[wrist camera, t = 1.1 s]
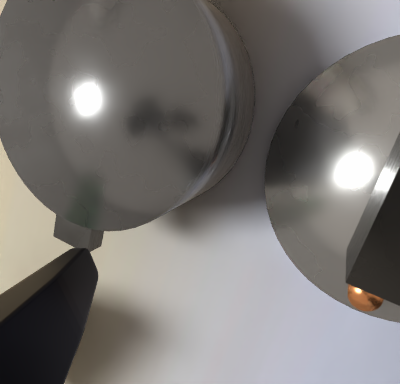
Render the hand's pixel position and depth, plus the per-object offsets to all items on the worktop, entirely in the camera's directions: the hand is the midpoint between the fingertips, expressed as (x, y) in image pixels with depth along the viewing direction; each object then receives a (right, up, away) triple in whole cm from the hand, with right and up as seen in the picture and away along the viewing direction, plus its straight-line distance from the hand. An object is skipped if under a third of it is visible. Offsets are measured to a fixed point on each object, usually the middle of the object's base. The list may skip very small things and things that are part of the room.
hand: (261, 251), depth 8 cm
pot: (-4, +7, +13) cm, 16 cm away
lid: (+9, +2, +9) cm, 13 cm away
